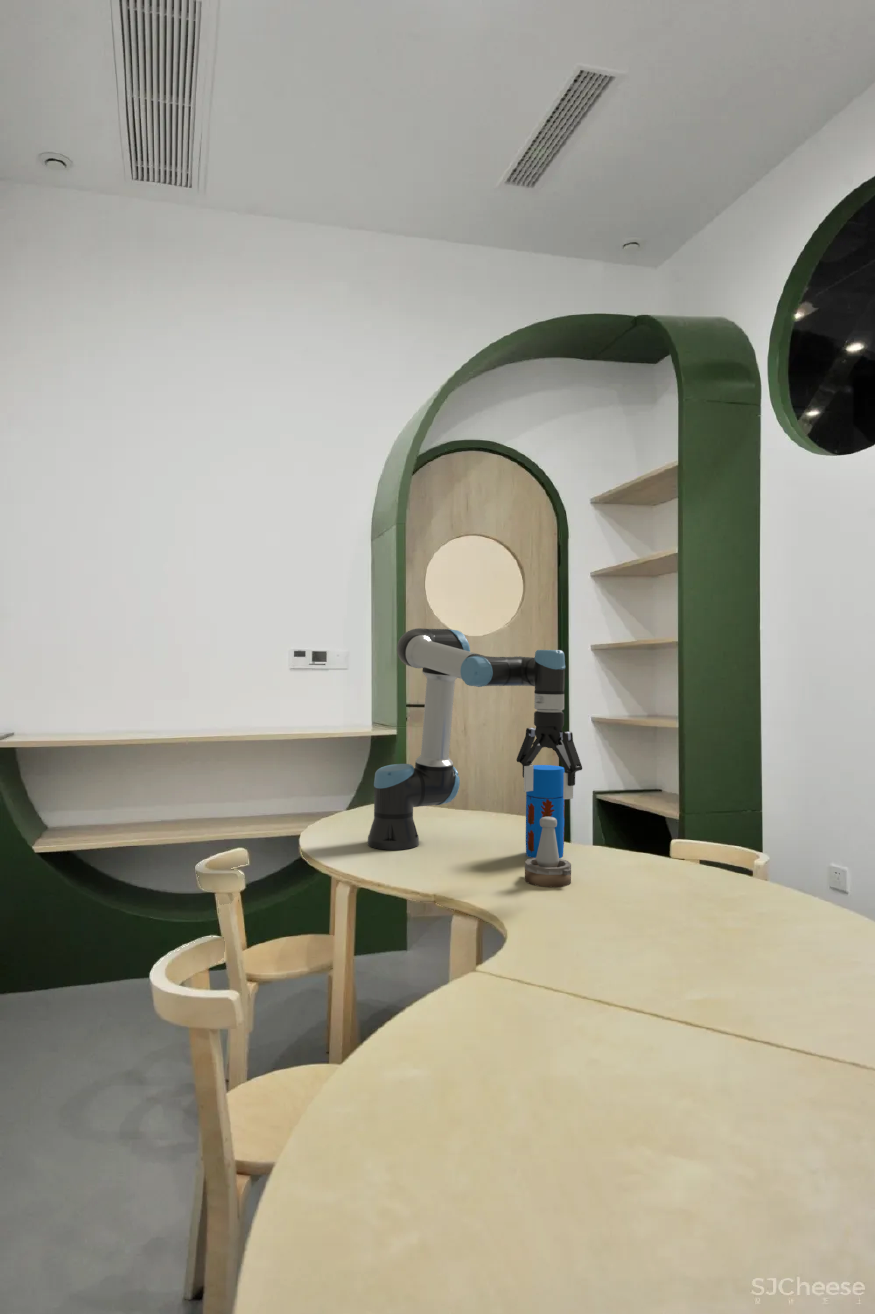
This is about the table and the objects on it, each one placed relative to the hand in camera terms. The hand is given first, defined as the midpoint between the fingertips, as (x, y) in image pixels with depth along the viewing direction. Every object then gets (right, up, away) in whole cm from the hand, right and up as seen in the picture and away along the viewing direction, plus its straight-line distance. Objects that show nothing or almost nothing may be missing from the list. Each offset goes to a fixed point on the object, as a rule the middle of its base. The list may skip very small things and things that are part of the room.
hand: (547, 794), depth 208 cm
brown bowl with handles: (0, -22, 0) cm, 22 cm away
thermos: (+3, -22, +27) cm, 34 cm away
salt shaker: (0, -19, 0) cm, 19 cm away
